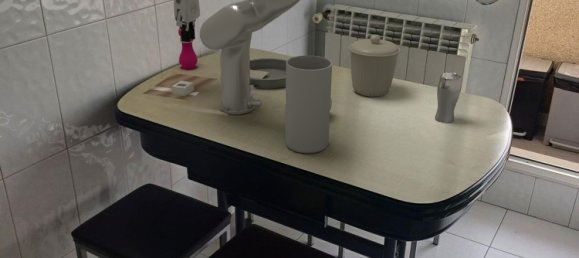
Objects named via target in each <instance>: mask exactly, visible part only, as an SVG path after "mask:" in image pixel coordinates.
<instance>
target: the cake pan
mask: <svg viewBox="0 0 579 258" xmlns="http://www.w3.org/2000/svg"><path fill="white" fill-rule="evenodd" d="M287 60H288V59H285V58H283V59H282V58H273V57H265V58H264V57H263V58H253V59H250V71H258V72H267V73H266V74H265V75H264V76H263V77H261V78H259V77H258V78H257V77H251V76H250V84H253V86H252V87H253V88H255V89H256V88H257V89H279V88H280V89H281V88H285V87H286V61H287Z"/></svg>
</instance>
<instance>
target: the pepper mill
mask: <svg viewBox="0 0 579 258" xmlns="http://www.w3.org/2000/svg"><path fill="white" fill-rule="evenodd" d="M183 24H186V23H183ZM185 26H186V25H185ZM177 33H178V34H177V35H178V36H179V37H180V38H179V39H180V41H179V42H180V43H181V52H180V54H179V56H178V63H179V65H181V66H180V69H181V70H183V71H193V70H195V69H197V68H198V67H197V63H198V56H197V54H196V52H195V49H194V47H193V42H194V40H192V39H191V41H190V42H183V41H182V40H181V30H180V27H179V28H178V32H177Z"/></svg>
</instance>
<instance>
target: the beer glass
mask: <svg viewBox="0 0 579 258" xmlns="http://www.w3.org/2000/svg"><path fill="white" fill-rule="evenodd" d="M462 77H463V76H462V75H461V74H459V73H456V72H450V71H448V72H441V73H440V74H439V79H438V82H437V83H438V84H437V92H436V93H437V94H436V95H437V96H436V97H437V98H436V99H437V100H436V101H437V109H436V113H435V116H434V119H435V121H436V122H439V123H442V124H451V123H453V122H454V121H455V109H456V106H457V103H458V100H459V99H460V98H459V97H460V94H461V93H460V92H461V88H462Z"/></svg>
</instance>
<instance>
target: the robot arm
mask: <svg viewBox="0 0 579 258" xmlns="http://www.w3.org/2000/svg"><path fill="white" fill-rule="evenodd" d="M299 2H301V0H241V1H237V2H233V3H230V4H227V5H226V6H223V7H222V8H221V9H219V10H218V11H216V12H215V13H214V14H212V15H211V16H210V17H208V18H207V19H206V20H204V21H203V23H202V24H201V26H200V30H199V39H200V41H201V43H202V45H203V46H204V47H205V48H207V49H208V50H211V51H218V50H221V51H220V54H219V55H220V56H219V61H220V63H219V64H220V65H219V66H220V68H219V69H220V85H221V88H220V89H221V91H220V92H221V105H222V107H224V108H226V109H227V110H221V109H219V111H220V112H221V113H223V114H229V115H242V114H243V115H245V114H248V113H250V112H252V111H253V110H255V108H262V106H263V105H262V104H263V103H262V100H261V98H255V97H254V93H251V83H250V77H251V70H250V60H251V58H250V57H251V56H250V55H251V52H250V51H251V41H252V38H253V33H254V32H257V31H260V30H261V29H263V28H265V26H267V25H268V24H271V23H272V22H273V21H275V20H276V19H278V18H279V17H280V16H283V14H285V13H286V12H288V11H289V10H291V9H292V8H293V7H295V6H296V5H297V4H298V3H299ZM200 9H201V8H200V0H173V13H174V19H175V22H176V23H175V26H176V27H179V28H180V30H181V37H180V38H181V39H180V40H182V41H183V42H190V41H191V39H192V40H193V41H194V40H196V30H195V29H196V20H197V19H198V18H199V17H200V16H201V10H200ZM183 23H186V24H183ZM185 25H186V26H185Z"/></svg>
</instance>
